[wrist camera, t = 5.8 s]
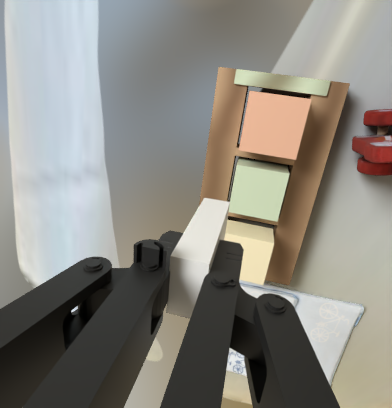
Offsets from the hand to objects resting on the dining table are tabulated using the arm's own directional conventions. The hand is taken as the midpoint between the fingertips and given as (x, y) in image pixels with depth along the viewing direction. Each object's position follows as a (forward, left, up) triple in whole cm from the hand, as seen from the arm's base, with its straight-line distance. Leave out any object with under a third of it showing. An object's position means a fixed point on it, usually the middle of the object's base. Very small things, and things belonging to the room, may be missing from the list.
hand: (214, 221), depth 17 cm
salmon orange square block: (-3, -4, -20) cm, 21 cm away
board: (-3, +4, -23) cm, 24 cm away
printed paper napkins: (-12, +29, -24) cm, 39 cm away
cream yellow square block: (-3, +12, -20) cm, 23 cm away
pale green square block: (-3, +4, -22) cm, 22 cm away
